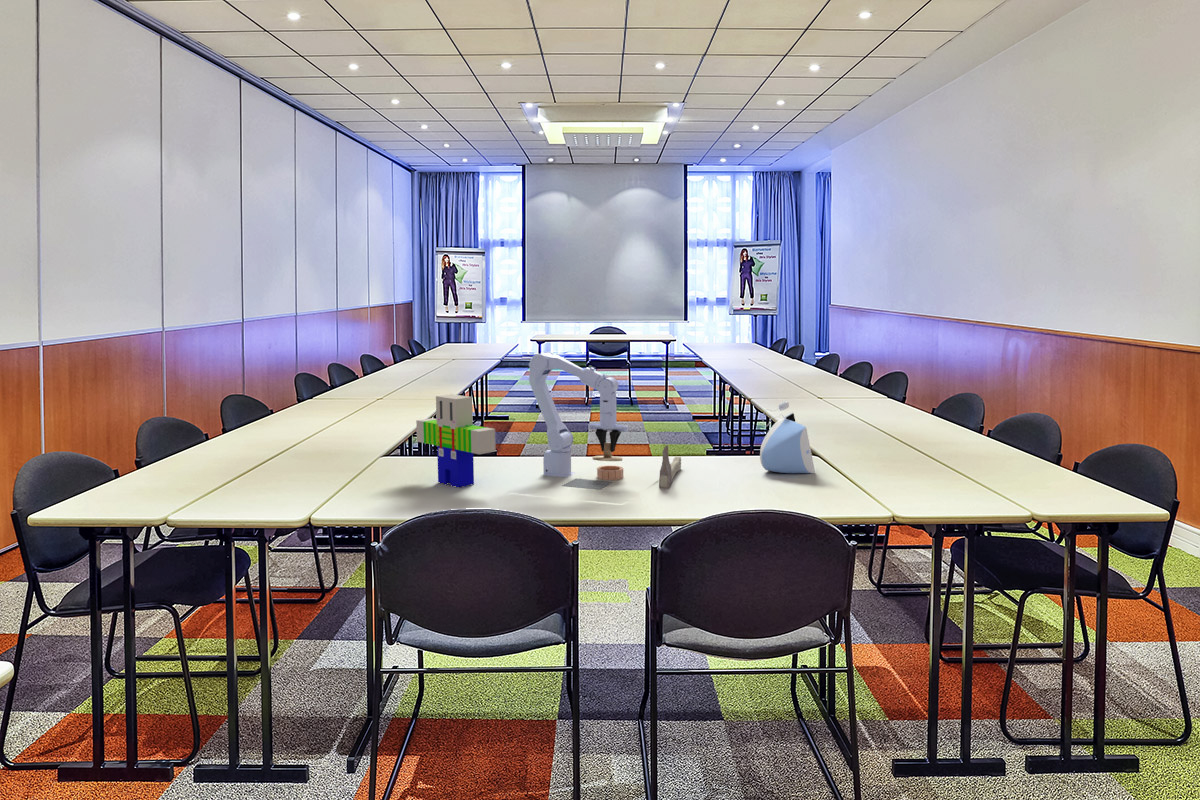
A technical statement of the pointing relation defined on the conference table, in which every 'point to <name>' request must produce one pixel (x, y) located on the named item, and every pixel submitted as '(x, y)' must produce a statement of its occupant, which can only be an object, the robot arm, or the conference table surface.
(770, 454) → the retro desktop computer
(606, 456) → the lid
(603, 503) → the conference table surface
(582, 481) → the mat
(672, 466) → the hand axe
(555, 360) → the robot arm
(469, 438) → the toy
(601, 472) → the bowl
